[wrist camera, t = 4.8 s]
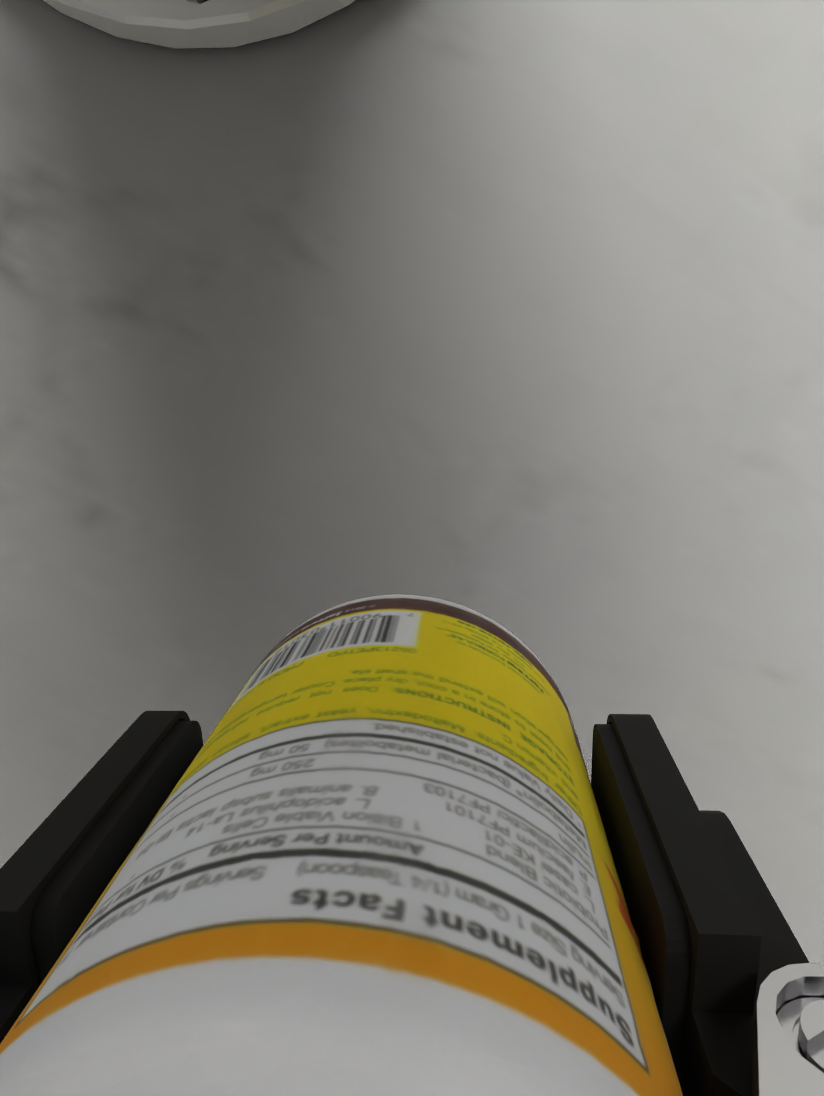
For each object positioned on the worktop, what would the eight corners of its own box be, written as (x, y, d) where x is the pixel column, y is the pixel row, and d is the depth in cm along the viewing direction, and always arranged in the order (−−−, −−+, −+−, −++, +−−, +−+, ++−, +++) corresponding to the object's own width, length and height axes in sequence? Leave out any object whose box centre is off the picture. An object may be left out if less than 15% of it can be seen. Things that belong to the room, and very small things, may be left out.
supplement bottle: (464, 922, 13) (447, 2657, 3) (196, 778, 13) (-744, 2241, 3) (640, 687, 12) (1607, 2571, 2) (343, 516, 11) (-557, 1682, 1)
